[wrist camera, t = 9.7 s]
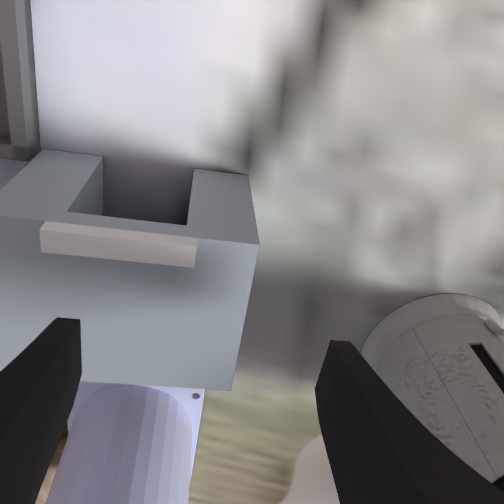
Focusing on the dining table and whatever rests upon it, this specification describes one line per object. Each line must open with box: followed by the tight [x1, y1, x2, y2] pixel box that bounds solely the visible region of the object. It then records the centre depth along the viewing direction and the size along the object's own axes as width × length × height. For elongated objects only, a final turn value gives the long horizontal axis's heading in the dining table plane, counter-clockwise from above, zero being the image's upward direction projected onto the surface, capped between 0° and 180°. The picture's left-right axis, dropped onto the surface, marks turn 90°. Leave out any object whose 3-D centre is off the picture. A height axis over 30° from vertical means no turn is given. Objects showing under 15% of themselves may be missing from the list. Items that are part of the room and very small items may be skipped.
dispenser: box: [0, 149, 260, 391], centre depth 19 cm, size 7×9×7 cm
